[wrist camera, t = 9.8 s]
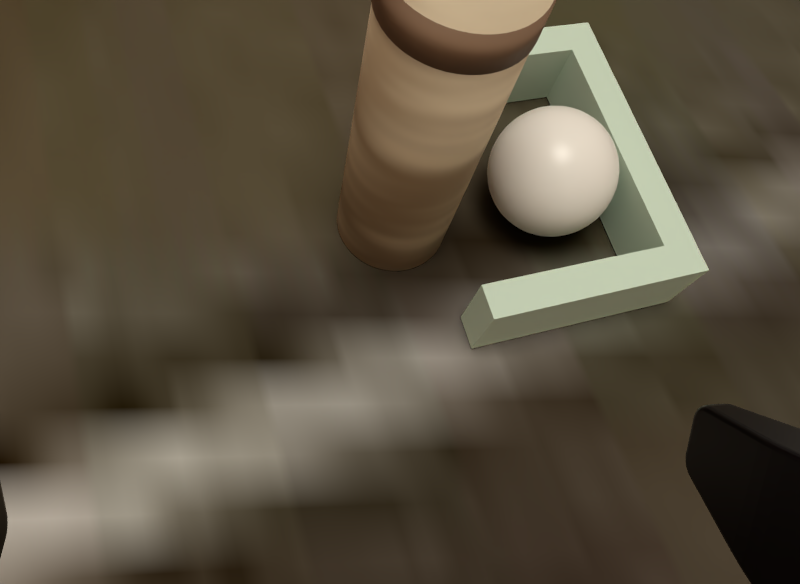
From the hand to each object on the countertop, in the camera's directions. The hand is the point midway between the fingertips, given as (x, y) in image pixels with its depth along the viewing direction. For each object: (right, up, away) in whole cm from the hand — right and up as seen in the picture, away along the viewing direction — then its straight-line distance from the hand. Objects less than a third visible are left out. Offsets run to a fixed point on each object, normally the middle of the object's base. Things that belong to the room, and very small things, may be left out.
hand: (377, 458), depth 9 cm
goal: (+5, +6, +18) cm, 20 cm away
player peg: (0, +5, +17) cm, 18 cm away
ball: (+6, +6, +16) cm, 18 cm away
